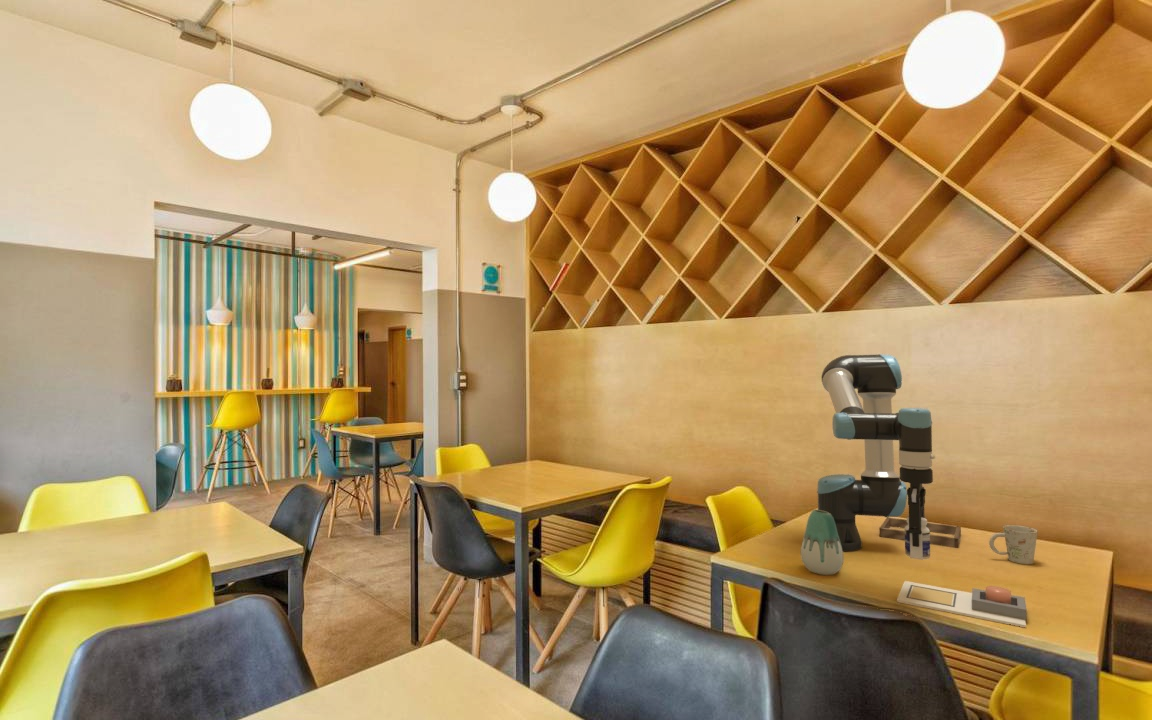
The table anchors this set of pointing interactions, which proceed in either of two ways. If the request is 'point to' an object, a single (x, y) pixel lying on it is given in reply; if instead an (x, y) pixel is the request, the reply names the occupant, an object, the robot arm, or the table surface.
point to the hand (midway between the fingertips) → (917, 555)
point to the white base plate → (964, 603)
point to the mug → (1017, 543)
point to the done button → (998, 594)
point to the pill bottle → (925, 539)
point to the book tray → (932, 527)
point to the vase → (821, 544)
